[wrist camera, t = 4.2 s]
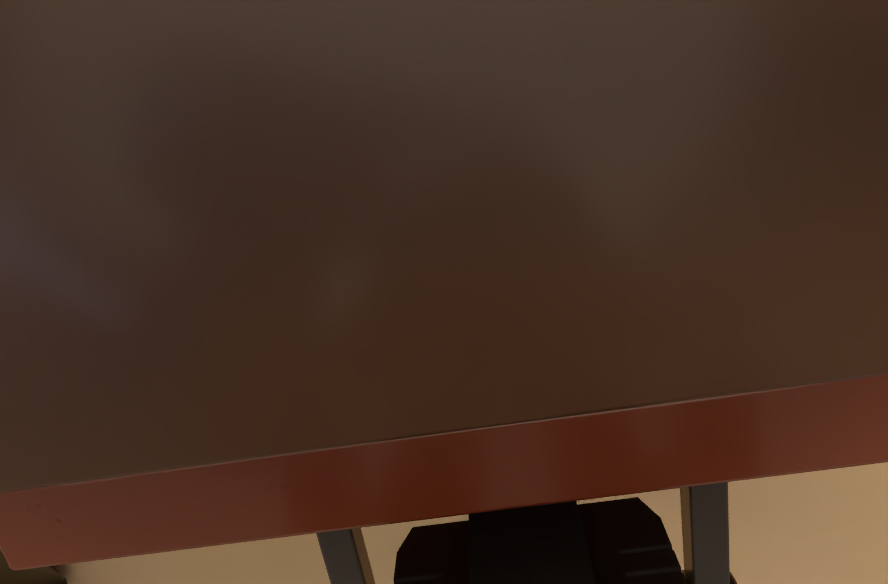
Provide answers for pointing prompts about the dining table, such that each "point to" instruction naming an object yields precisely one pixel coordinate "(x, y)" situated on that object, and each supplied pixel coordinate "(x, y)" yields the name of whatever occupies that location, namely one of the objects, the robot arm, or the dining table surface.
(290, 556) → the dining table surface
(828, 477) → the dining table surface
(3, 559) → the beverage carton
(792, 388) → the drawer
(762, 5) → the cabinet
